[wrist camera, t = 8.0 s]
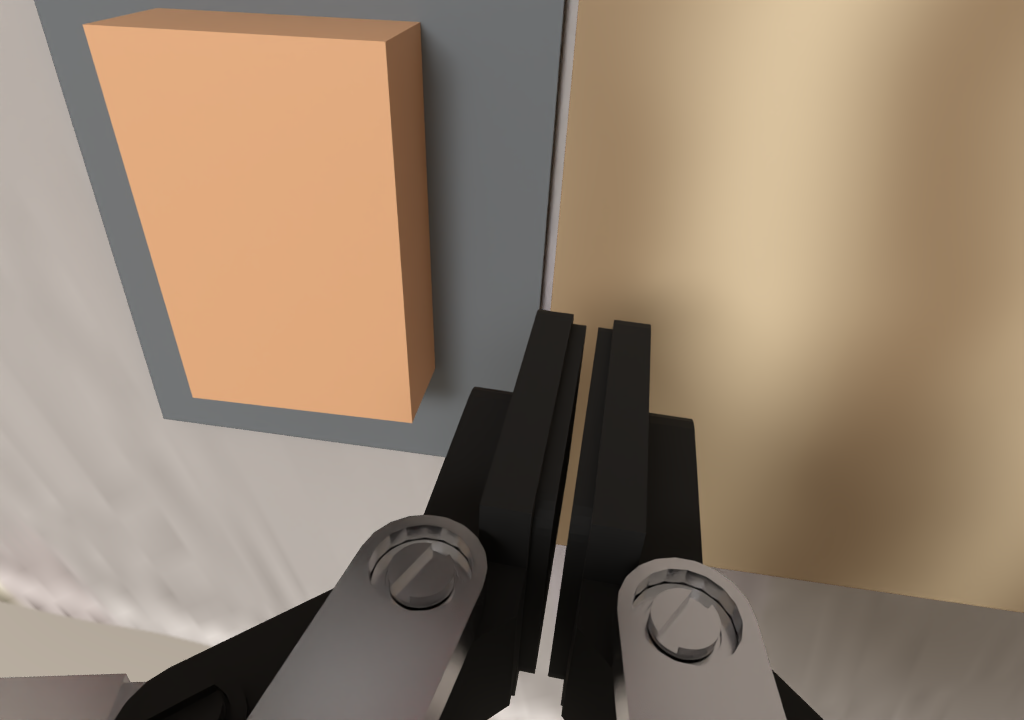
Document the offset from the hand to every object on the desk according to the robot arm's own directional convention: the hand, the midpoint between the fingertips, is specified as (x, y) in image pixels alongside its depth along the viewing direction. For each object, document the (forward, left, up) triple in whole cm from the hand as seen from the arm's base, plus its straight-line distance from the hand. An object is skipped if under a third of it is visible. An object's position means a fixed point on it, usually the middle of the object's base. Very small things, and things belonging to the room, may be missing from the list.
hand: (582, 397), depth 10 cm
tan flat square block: (-6, 0, -8) cm, 10 cm away
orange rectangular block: (+7, +1, -5) cm, 9 cm away
